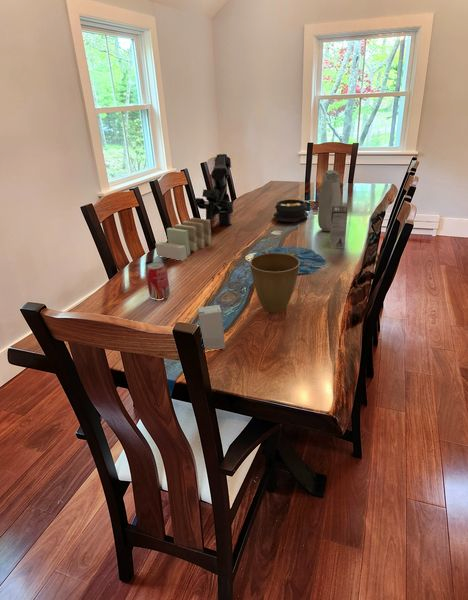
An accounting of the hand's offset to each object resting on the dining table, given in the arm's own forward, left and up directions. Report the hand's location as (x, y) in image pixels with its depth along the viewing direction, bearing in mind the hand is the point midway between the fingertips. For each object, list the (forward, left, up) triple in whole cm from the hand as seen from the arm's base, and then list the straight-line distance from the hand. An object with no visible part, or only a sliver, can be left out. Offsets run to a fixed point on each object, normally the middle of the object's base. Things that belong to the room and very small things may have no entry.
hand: (207, 220), depth 187 cm
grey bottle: (+10, +57, -9) cm, 59 cm away
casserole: (-17, +48, -9) cm, 52 cm away
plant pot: (+76, +8, -9) cm, 77 cm away
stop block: (+19, -19, -9) cm, 29 cm away
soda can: (+56, -27, -9) cm, 62 cm away
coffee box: (+30, +52, -9) cm, 61 cm away
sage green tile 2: (+7, -8, -9) cm, 14 cm away
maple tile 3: (+11, -12, -9) cm, 19 cm away
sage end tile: (+15, -16, -9) cm, 24 cm away
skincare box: (+92, -15, -9) cm, 93 cm away
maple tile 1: (+4, -4, -9) cm, 10 cm away
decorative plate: (+40, +26, -10) cm, 49 cm away
